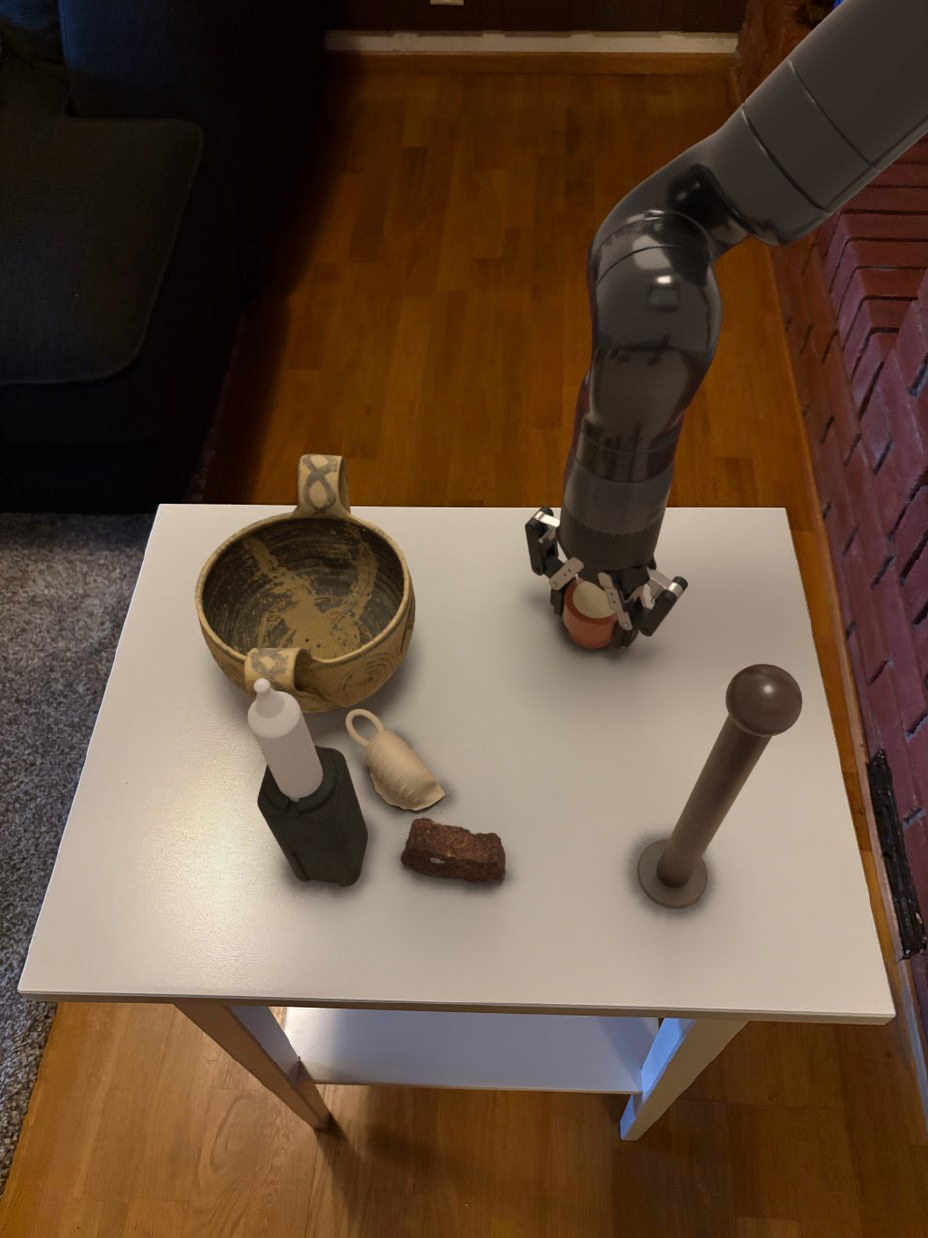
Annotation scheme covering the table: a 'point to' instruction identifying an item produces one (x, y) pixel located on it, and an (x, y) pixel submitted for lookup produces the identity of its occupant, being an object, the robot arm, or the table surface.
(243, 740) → the table surface
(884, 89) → the robot arm
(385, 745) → the decorative ornament
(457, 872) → the stone
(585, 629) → the terracotta bowl
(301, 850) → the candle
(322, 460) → the ceramic bowl
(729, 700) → the walnut post
